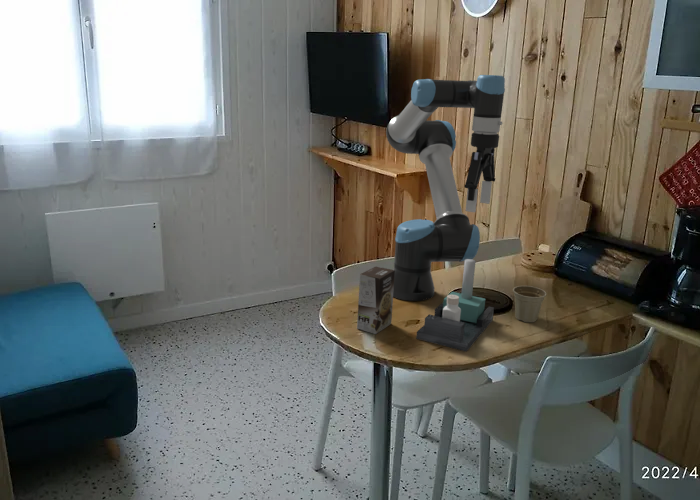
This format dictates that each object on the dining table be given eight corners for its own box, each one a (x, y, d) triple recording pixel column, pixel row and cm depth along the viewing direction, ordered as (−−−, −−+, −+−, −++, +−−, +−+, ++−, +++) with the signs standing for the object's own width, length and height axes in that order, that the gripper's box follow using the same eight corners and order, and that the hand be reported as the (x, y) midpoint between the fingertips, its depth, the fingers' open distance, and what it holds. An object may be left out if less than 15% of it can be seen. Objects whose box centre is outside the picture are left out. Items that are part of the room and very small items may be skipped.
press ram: (442, 315, 173) (447, 262, 169) (450, 307, 179) (455, 255, 175) (476, 323, 169) (482, 268, 164) (483, 315, 175) (489, 262, 170)
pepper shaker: (446, 325, 168) (449, 292, 165) (459, 328, 166) (463, 296, 163) (440, 329, 164) (443, 297, 162) (454, 333, 162) (457, 300, 160)
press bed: (416, 338, 163) (417, 316, 161) (447, 309, 184) (448, 289, 182) (466, 351, 157) (468, 328, 155) (492, 320, 177) (495, 299, 175)
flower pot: (525, 327, 173) (528, 299, 171) (502, 315, 181) (506, 288, 179) (549, 322, 178) (553, 294, 175) (526, 310, 186) (530, 283, 183)
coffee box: (376, 334, 165) (379, 278, 160) (356, 328, 168) (358, 273, 163) (392, 323, 172) (395, 269, 167) (372, 318, 175) (375, 265, 171)
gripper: (485, 137, 157) (477, 217, 163) (510, 130, 178) (502, 201, 184) (457, 135, 160) (450, 213, 166) (485, 128, 181) (478, 198, 188)
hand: (477, 207), depth 175 cm, fingers open, 13 cm apart
